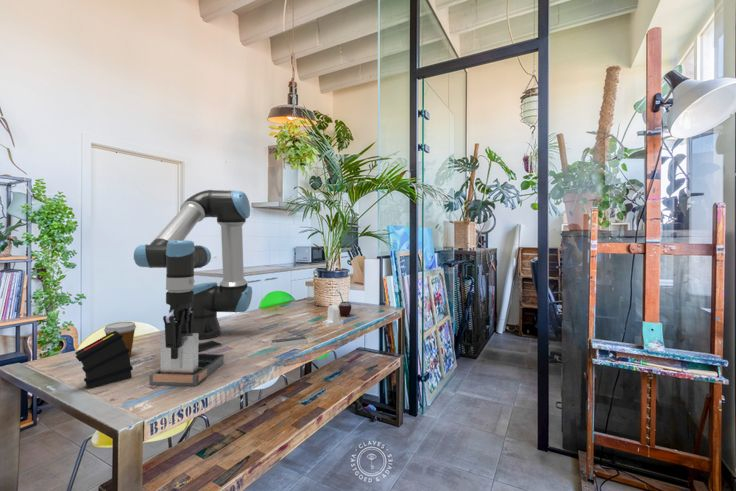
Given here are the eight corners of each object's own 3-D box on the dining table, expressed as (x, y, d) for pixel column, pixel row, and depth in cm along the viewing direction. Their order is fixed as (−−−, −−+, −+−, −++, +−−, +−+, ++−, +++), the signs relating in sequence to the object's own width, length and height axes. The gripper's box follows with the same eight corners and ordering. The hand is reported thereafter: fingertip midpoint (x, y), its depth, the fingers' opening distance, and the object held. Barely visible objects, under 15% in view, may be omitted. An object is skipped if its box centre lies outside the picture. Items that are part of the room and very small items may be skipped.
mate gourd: (353, 316, 196) (353, 290, 196) (340, 318, 192) (341, 291, 192) (347, 314, 202) (347, 288, 202) (335, 315, 199) (335, 289, 198)
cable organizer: (322, 324, 177) (322, 305, 177) (338, 322, 184) (338, 303, 183) (327, 326, 173) (328, 307, 173) (343, 324, 179) (344, 305, 179)
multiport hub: (307, 344, 146) (307, 338, 146) (272, 348, 139) (272, 343, 139) (304, 341, 150) (304, 336, 150) (270, 345, 143) (270, 340, 143)
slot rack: (149, 384, 103) (149, 374, 103) (184, 361, 122) (184, 353, 122) (197, 386, 102) (197, 376, 102) (224, 363, 121) (224, 354, 121)
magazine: (143, 369, 110) (119, 331, 104) (97, 400, 101) (68, 360, 95) (139, 366, 112) (116, 329, 107) (94, 396, 103) (65, 357, 98)
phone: (175, 349, 132) (211, 340, 145) (175, 352, 132) (211, 343, 145) (186, 353, 128) (222, 343, 140) (186, 356, 128) (222, 346, 140)
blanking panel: (160, 374, 105) (160, 335, 104) (166, 370, 108) (166, 332, 107) (193, 375, 104) (193, 336, 104) (198, 371, 107) (198, 333, 107)
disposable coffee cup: (141, 356, 126) (141, 323, 126) (111, 364, 118) (111, 329, 118) (128, 351, 131) (128, 320, 131) (98, 358, 123) (98, 325, 123)
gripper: (177, 295, 97) (176, 377, 98) (205, 287, 113) (204, 357, 114) (151, 294, 97) (150, 376, 98) (182, 286, 114) (182, 356, 114)
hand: (179, 366), depth 106 cm, fingers closed on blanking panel, 3 cm apart
